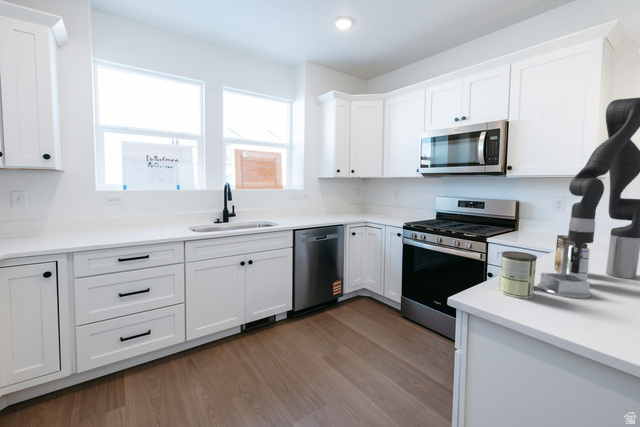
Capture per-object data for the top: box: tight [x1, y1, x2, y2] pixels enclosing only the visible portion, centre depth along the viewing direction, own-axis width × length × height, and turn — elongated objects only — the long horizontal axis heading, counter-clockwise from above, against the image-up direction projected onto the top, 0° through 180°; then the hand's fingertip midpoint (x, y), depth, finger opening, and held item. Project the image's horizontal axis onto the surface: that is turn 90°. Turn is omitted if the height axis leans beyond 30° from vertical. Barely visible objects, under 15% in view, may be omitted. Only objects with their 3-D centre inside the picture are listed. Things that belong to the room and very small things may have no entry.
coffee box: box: [553, 234, 575, 274], centre depth 132 cm, size 9×6×16 cm
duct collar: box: [537, 272, 591, 299], centre depth 110 cm, size 15×15×5 cm
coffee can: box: [499, 250, 538, 299], centre depth 106 cm, size 10×10×14 cm
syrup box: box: [567, 245, 591, 282], centre depth 118 cm, size 6×6×14 cm
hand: (576, 271), depth 118 cm, fingers closed on syrup box, 6 cm apart
